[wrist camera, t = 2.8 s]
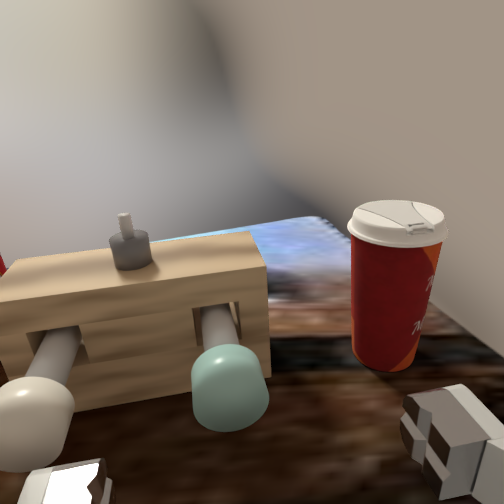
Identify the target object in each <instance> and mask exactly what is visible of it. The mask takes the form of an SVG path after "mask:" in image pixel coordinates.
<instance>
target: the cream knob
mask: <svg viewBox="0 0 504 504" xmlns="http://www.w3.org/2000/svg"><path fill="white" fill-rule="evenodd" d="M81 340H82V335H81V331H80V328H79V325H75V326H68V327H61V328H55V329H48V331H47V333H46V335H45V337H44V339H43V341H42V343H41V345H40V347H39V349H38V351H37V353H36V355H35V357H34V359H33V361H32V363H31V365H30V367H29V369H28V371H27V373H26V375H25V377H22V378H18V379H15V380H12V381H10V382H8V383H6V384H5V385H3V386H2V387H1V388H0V470H2V471H7V472H29V471H33V470H38V469H41V468H43V467H45V466H47V465H49V464H51V463H52V462H53V461H55V460H56V459H57V458H58V456H59V455H60V453H61V452H62V449H63V446H64V442H65V439H66V436H67V432H68V429H69V426H70V423H71V419H72V416H73V413H74V409H75V402H74V398H73V396H72V394H71V393H70V391H69V390H68V389H67V388H66V387H65V385H66V382H67V379H68V377H69V374H70V371H71V368H72V365H73V362H74V360H75V357H76V354H77V351H78V348H79V346H80V343H81Z"/></svg>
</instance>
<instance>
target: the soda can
mask: <svg viewBox="0 0 504 504" xmlns="http://www.w3.org/2000/svg"><path fill="white" fill-rule="evenodd" d="M6 271H7V270H6V267H5V265H4V262H3V259H2V257H1V254H0V278H1V277H2V276H3V275H4V274H5V272H6Z"/></svg>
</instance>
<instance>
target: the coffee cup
mask: <svg viewBox="0 0 504 504" xmlns="http://www.w3.org/2000/svg"><path fill="white" fill-rule="evenodd" d="M347 226H348V227H347V228H348V230H349V232H350V233H351V315H352V349H353V353H354V355H355V357H356V358H357V359H358V360H359V361H360V362H361V363H362V364H364V365H365V366H367V367H369V368H371V369H374V370H377V371H382V372H397V371H401V370H404V369H406V368H407V367H409V366H410V365H411V363H412V362H413V359H414V356H415V353H416V349H417V345H418V341H419V337H420V333H421V329H422V325H423V321H424V317H425V313H426V309H427V304H428V300H429V296H430V292H431V287H432V283H433V279H434V275H435V271H436V267H437V262H438V258H439V254H440V250H441V245H442V241H444V240H445V239H446V238H447V237H448V235H449V230H448V228H447V226H446V225H445V216H444V214H443V213H442V212H441V211H440V210H439V209H437V208H435V207H433V206H430V205H427V204H423V203H418V202H413V203H412V201H403V200H382V201H374V202H368V203H365V204H363V205H361V206H359V207H357V208H356V209H355V210H354V213H353V217H352V219H351V220H350V221H349V222H348V225H347Z"/></svg>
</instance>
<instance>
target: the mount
mask: <svg viewBox="0 0 504 504" xmlns="http://www.w3.org/2000/svg"><path fill="white" fill-rule="evenodd" d="M150 248H151V254H152V259H153V260H152V262H151V263H150V264H149V265H147V266H146V267H143V268H141V269H137V270H131V271H122V270H118V269H117V268H116V267H115V264H114V260H113V255H112V251H111V248H106V249H97V250H90V251H81V252H73V253H65V254H57V255H49V256H41V257H32V258H25V259H17V260H16V261H15V262H14V263H13V264H12V266H11V267H10V268H9V269H8V270H7V271H6V272H5V274H4V275H3V276H2V277H1V278H0V360H1V362H2V365H3V367H4V369H5V372H6V374H7V376H8V379H9V381H12V380H15V379H18V378H22V377H25V375H26V373H27V371H28V369H29V367H30V365H31V363H32V361H33V359H34V357H35V355H36V353H37V351H38V349H39V347H40V345H41V343H42V341H43V339H44V337H45V335H46V333H47V331H48V329H55V328H61V327H68V326H75V325H79V328H80V331H81V335H82V340H81V343H80V346H79V348H78V351H77V354H76V357H75V360H74V362H73V365H72V368H71V371H70V374H69V377H68V379H67V382H66V385H65V387H66V388H67V389H68V390H69V391H70V393H71V394H72V396H73V398H74V402H75V409H74V412H79V411H85V410H90V409H96V408H102V407H107V406H113V405H118V404H124V403H129V402H135V401H141V400H146V399H152V398H157V397H163V396H169V395H174V394H180V393H185V392H191V391H192V382H191V371H192V367H193V365H194V363H195V361H196V360H197V359H198V357H199V356H200V355H202V354H203V353H204V346H203V336H202V327H201V318H200V309H199V307H203V306H210V305H216V304H223V303H229V304H230V308H231V312H232V316H233V320H234V324H235V328H236V333H237V337H238V341H239V345H241V346H244V347H246V348H248V349H250V350H251V351H252V352H253V353H254V354H255V355H256V356H257V358H258V360H259V363H260V366H261V370H262V373H263V376H264V378H269V377H271V358H270V337H269V315H268V294H267V272H266V264H265V262H264V260H263V258H262V256H261V254H260V252H259V250H258V248H257V246H256V244H255V242H254V240H253V238H252V236H251V234H250V232H249V231H244V232H236V233H228V234H220V235H211V236H203V237H195V238H187V239H179V240H171V241H163V242H154V243H150Z"/></svg>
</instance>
